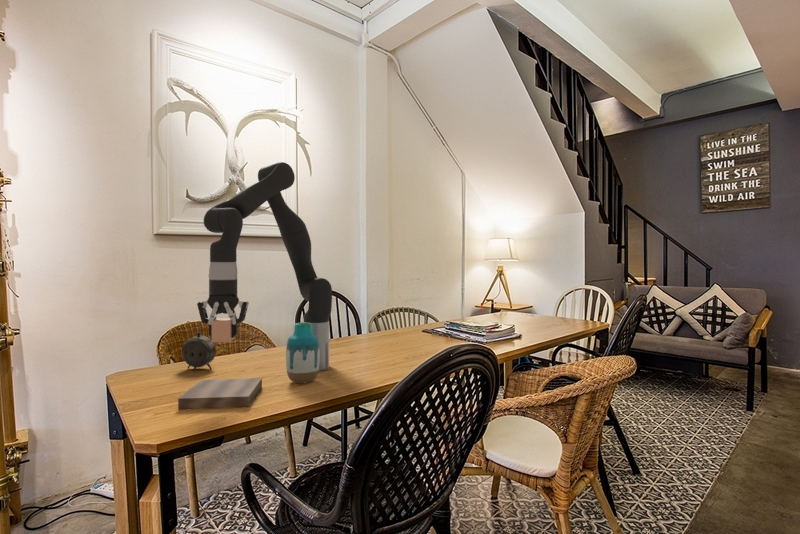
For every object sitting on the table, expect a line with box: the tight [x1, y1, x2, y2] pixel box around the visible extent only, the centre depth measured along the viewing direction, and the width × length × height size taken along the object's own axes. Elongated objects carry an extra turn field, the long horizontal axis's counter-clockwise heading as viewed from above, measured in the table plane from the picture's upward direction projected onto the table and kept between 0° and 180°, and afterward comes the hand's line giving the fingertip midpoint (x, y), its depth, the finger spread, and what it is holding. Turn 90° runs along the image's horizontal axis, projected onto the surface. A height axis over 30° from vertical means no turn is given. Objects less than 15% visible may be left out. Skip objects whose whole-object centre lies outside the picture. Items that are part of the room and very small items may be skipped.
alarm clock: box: [181, 324, 217, 372], centre depth 156 cm, size 11×5×16 cm, turn 84°
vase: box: [285, 321, 320, 384], centre depth 141 cm, size 11×11×19 cm
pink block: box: [211, 317, 236, 343], centre depth 124 cm, size 5×5×6 cm
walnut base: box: [177, 377, 263, 411], centre depth 124 cm, size 18×18×3 cm
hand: (223, 337), depth 124 cm, fingers closed on pink block, 5 cm apart
